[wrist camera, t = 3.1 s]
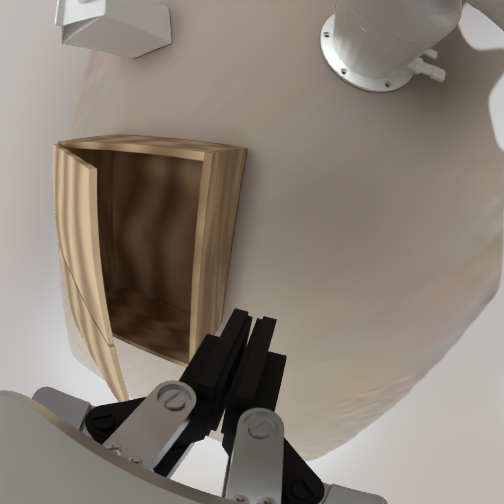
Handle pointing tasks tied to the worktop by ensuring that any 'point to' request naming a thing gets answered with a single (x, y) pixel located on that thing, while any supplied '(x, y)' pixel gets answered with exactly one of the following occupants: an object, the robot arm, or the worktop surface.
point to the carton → (164, 236)
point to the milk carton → (114, 25)
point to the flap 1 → (80, 230)
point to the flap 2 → (94, 337)
